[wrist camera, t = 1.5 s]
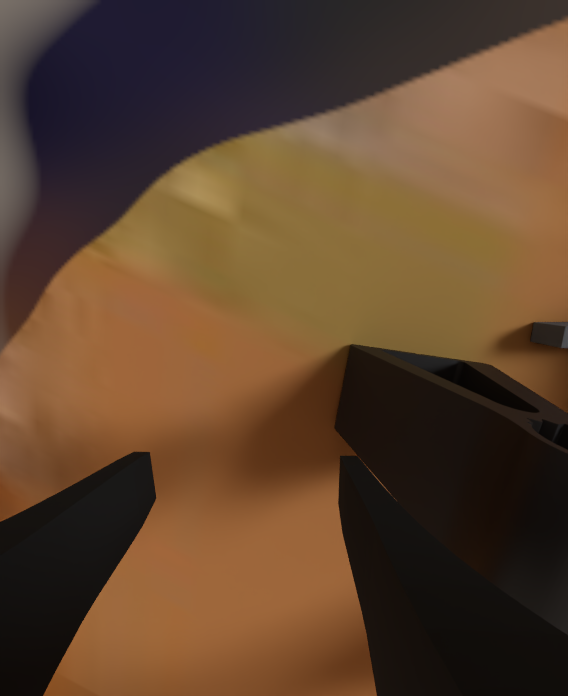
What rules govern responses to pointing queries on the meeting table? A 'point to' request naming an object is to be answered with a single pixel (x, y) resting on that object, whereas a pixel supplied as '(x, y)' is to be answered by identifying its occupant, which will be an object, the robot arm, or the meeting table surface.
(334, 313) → the meeting table surface
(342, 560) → the meeting table surface
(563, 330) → the keeper
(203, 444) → the meeting table surface
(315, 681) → the meeting table surface
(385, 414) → the phone stand
